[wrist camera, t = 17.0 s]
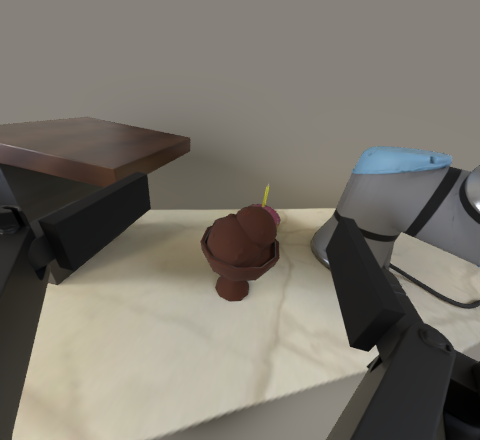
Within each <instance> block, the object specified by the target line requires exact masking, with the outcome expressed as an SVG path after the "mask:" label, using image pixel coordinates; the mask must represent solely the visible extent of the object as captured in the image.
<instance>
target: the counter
mask: <svg viewBox="0 0 480 440" xmlns="http://www.w3.org/2000/svg"><path fill="white" fill-rule="evenodd" d="M189 151H190V138H188V137H184V136H179V135H174V134H169V133H164V132H159V131H154V130H149V129H144V128H139V127H134V126H129V125H125V124H119V123H115V122H110V121H105V120H100V119H95V118H90V117H81V118H69V119H59V120H47V121H37V122H25V123H14V124H3V125H0V206H3V205H15V206H19V207H21V208H22V209H23V211H24V213H25V215H26V217H27V219H28V221H29V223H31V222H33V221H35V220H37V219H39V218H41V217H43V216H45V215H47V214H49V213H51V212H53V211H55V210H56V211H57V209H59V208H61V207H65V205H67V204H69V203H71V202H73V201H77V200H80V199H83V198H85V197H87V196H89V195H91V194H93V193H95V192H97V191H99V190H101V189H103V188H105V187H107V186H109V185H111V184H113V183H115V182H117V181H119V180H121V179H123V178H125V177H127V176H129V175H131V174H133V173H135V172H141V173H145V174H149V173H151V172H153V171H154V170H156V169H158V168H160V167H162V166H164V165H165V164H167V163H169V162H171V161H173V160H175V159H177V158H178V157H180V156H182V155H184V154H186V153H188V152H189ZM126 229H127V228H126ZM126 229H125V230H126ZM125 230H124V231H125ZM120 234H121V233H120ZM120 234H119V235H120ZM115 238H116V237H115ZM115 238H114V239H115ZM109 243H110V242H109ZM109 243H108V244H109ZM104 247H105V246H104ZM104 247H103V248H104ZM98 252H99V251H98ZM98 252H97V253H98ZM92 257H93V256H92ZM87 261H88V260H87ZM49 264H50V266H51V271H50V276H49V280H48V283H52V284H55V285H58V284H59V283H61V282H62V281H63V280H64V279H66V278H67V277H68V276H69V275H70V274H72V273H73V272H74V271H70V270H66V269H63V268H60V267H59V265H58V263H57V261H56V259H54V260H53V261H51V262H50V263H49ZM81 266H82V265H81ZM76 270H77V269H76Z"/></svg>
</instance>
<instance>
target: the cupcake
mask: <svg viewBox="0 0 480 440" xmlns="http://www.w3.org/2000/svg"><path fill="white" fill-rule="evenodd" d="M268 191H269V183H268V186H267V187H266V191H265V195H264V199H263V204H256V205H254V204H253V205H251V206H257V207H259V206H261V207H262V208H264V209H265V210H267V211H268V212H269V213H270V214H271V215H272V216H273V218H274V221H275V224H276V228H278V226H279V224H280V221H281V220H280V217H279V215H278V213H276V211H274V209H272V208H271V207H268V206H266V205H265V204H266V200H267V196H268ZM248 207H249V206H248Z"/></svg>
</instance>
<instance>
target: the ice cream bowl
mask: <svg viewBox="0 0 480 440" xmlns="http://www.w3.org/2000/svg"><path fill="white" fill-rule="evenodd" d="M276 232H277V228H276V224H275V221H274V218H273V216H272V215H271V214H270V213H269V212H268V211H267V210H265V209H264V208H262V207H261V206H259V207H257V206H249V207H245V208H243V209H241V210H240V211H238V213H237V214H236V215H235V214H229V215H228V216H226V217H223V218H219V219H217V220H215V222H214V223H213V225H212V226H210V227H208V228H207V229H206V231H205V233H204V236H203V238H202V240H201V247H202V251H203V253H204V255H205V256H206V258H207V260H208V262H209V264H210V266H211V268H212V270H213V271H214V272H216V273H218V274H220V275H222V276H221V277H219V278H218V281H217V284H216V287H215V288H216V290H217V292H218V294H219V296H220V297H222V298H224V299H226V300H228V301H241V300H242V299H243V298H244V297H246V296H247V295H248V290H249V284H248V282H247V281H248V280H256V279H258V278H259V277H260V276H262V275H263V274H264V273H265V272H267V271H268V270H269V269H270V268H272V267H273V266H274V265H275V264H276V262H277V261H278V259H279V242H278V241H277V240H276V239H275V237H276Z"/></svg>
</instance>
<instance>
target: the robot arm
mask: <svg viewBox="0 0 480 440" xmlns="http://www.w3.org/2000/svg"><path fill="white" fill-rule="evenodd" d="M451 163H452V156H450V155H447V154H444V153H438V152H433V151H426V150H419V149H410V148H399V147H384V146H383V147H382V146H378V147H371V148H369V149H367V150H366V151H364V152H363V154H362V155H361V157H360V159H359V161H358V163H357V164H356V166H355V168H354V169H353V170H352V174H351V177H350V179H349V181H348V183H347V185H346V188H345V190H344V192H343V194H342V197H341V199H340V201H339V203H338V205H337V208H336V210H335V212H334V214H333V216H332V217H331V218H330V219H329V220H328V221H327V222H326V223H325V224H324V225H323V226H322V227H321V228H320V229H319V230H318V231H317V232H316V233H315V235H314V237H313V239H312V242H311V248H312V251H313V253H314V255H315V256H316V257H317V259H318V260H319V261H320V262H321V263H322V264H323V265H324V266H326V267H327V268H328V269H330V270H331V274H332V278H333V281H334V285H335V289H336V293H337V297H338V301H339V305H340V309H341V313H342V317H343V321H344V325H345V329H346V332H347V336H348V340H349V344H350V347H353V348H356V349H360V350H364V351H367V352H369V351H370V350H371V349H372V348H373V347H374V346H375V345H376V346H377V349H378V352H379V355H378V356H377V357H376V358H375V359H374V360H373V361H372V362H371V363H370V364H369V365H368V366H367V368H369V369H368V371H367V373H366V374H365V376H364V378H363V380H362V381H361V383H360V384H359V386H358V388H357V389H356V391H355V393H354V394H353V396H352V398H351V399H350V401H349V403H348V404H347V406H346V407H345V409H344V411H343V412H342V414H341V416H340V417H339V419H338V421H337V422H336V424H335V426H334V427H333V429H332V431H331V432H330V434H329V436H328V437H327V439H326V440H480V362H478V361H476V360H474V359H472V358H470V357H468V356H466V355H464V354H462V353H460V352H458V351H456V350H454V348H453V346H452V344H451V343H450V342H449V341H448V339H447V338H446V337H445V336H444V335H443V334H441V333H440V332H439V331H438V330H436V329H435V328H433V327H431V326H430V325H428V324H425V323H424V322H423V321H422V319H421V317H420V316H419V314H418V313H417V311H416V309H415V308H414V306H413V304H412V303H411V301H410V299H409V298H408V296H406V293H405V291H404V289H403V288H402V286H401V285H400V283H399V281H398V280H397V278H396V277H395V276H394V275H393V274H392V273H391V272H390V271H389V270H388V269H389V267H390V268H392V269H394V270H395V271H397V272H398V273H400V274H402V275H403V276H405V277H406V278H408V279H409V280H411V281H413V282H414V283H416V284H418V285H419V286H421V287H422V288H424V289H426V290H427V291H429V292H430V293H432V294H434V295H435V296H437V297H439V298H441V299H443V300H444V301H447V302H449V303H451V304H453V305H456V306H459V307H463V308H468V309H471V308H476V307H478V306H480V300H478V301H476V302H474V303H472V304H463V303H459V302H456V301H454V300H451V299H449V298H447V297H445V296H443V295H441V294H439V293H438V292H436V291H434V290H433V289H431V288H429V287H428V286H426V285H425V284H423V283H421V282H420V281H418V280H416V279H415V278H413V277H411V276H410V275H408V274H407V273H405V272H404V271H402V270H400V269H399V268H397V267H396V266H394V265H392V264H390V260H391V255H392V250H393V245H394V242H395V240H396V239H397V237H398V236H399V235H400V233H401V232H403V233H405V234H408V235H410V236H412V237H415V238H417V239H419V240H421V241H424V242H426V243H428V244H431V245H433V246H435V247H437V248H440V249H442V250H444V251H446V252H449V253H451V254H453V255H455V256H458V257H460V258H462V259H464V260H466V261H469V262H471V263H473V264H475V265H477V266H478V267H480V165H479V166H478V167H476V168H475V169H474V170H473V171H472V172H469V171H465V170H460V169H457V168H453V167H450V165H451ZM150 209H151V207H150V197H149V189H148V178H147V174H145V173H141V172H135V173H133V174H131V175H129V176H127V177H125V178H123V179H121V180H119V181H117V182H115V183H113V184H111V185H109V186H107V187H105V188H103V189H101V190H99V191H97V192H95V193H93V194H91V195H89V196H87V197H85V198H83V199H80V200H77V201H73V202H71V203H69V204H67V205H65V207H61V208H59V209H57V211H56V210H55V211H53V212H51V213H49V214H47V215H45V216H43V217H41V218H39V219H37V220H35V221H33V222H31V223H29V221H28V219H27V217H26V215H25V213H24V211H23V209H22V208H21V207H19V206H15V205H3V206H0V440H12V433H13V429H14V424H15V420H16V416H17V412H18V407H19V403H20V399H21V395H22V390H23V386H24V382H25V378H26V373H27V369H28V365H29V361H30V356H31V352H32V348H33V344H34V339H35V335H36V331H37V327H38V322H39V318H40V314H41V310H42V305H43V301H44V297H45V293H46V288H47V284H48V280H49V276H50V271H51V266H50V264H49V263H50V262H51V261H53V260H54V259H56V261H57V263H58V265H59V267H60V268H63V269H66V270H70V271H75V270H76V269H78V268H79V267H80V266H81V265H83V264H84V263H85V262H86V261H87V260H89V259H90V258H91V257H92V256H94V255H95V254H96V253H97V252H98V251H100V250H101V249H102V248H103V247H104V246H106V245H107V244H108V243H109V242H111V241H112V240H113V239H114V238H115V237H117V236H118V235H119V234H120V233H122V232H123V231H124V230H125V229H126V228H128V227H129V226H130V225H131V224H133V223H134V222H135V221H136V220H137V219H139V218H140V217H141V216H142V215H143V214H145V213H146V212H147V211H148V210H150Z"/></svg>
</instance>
